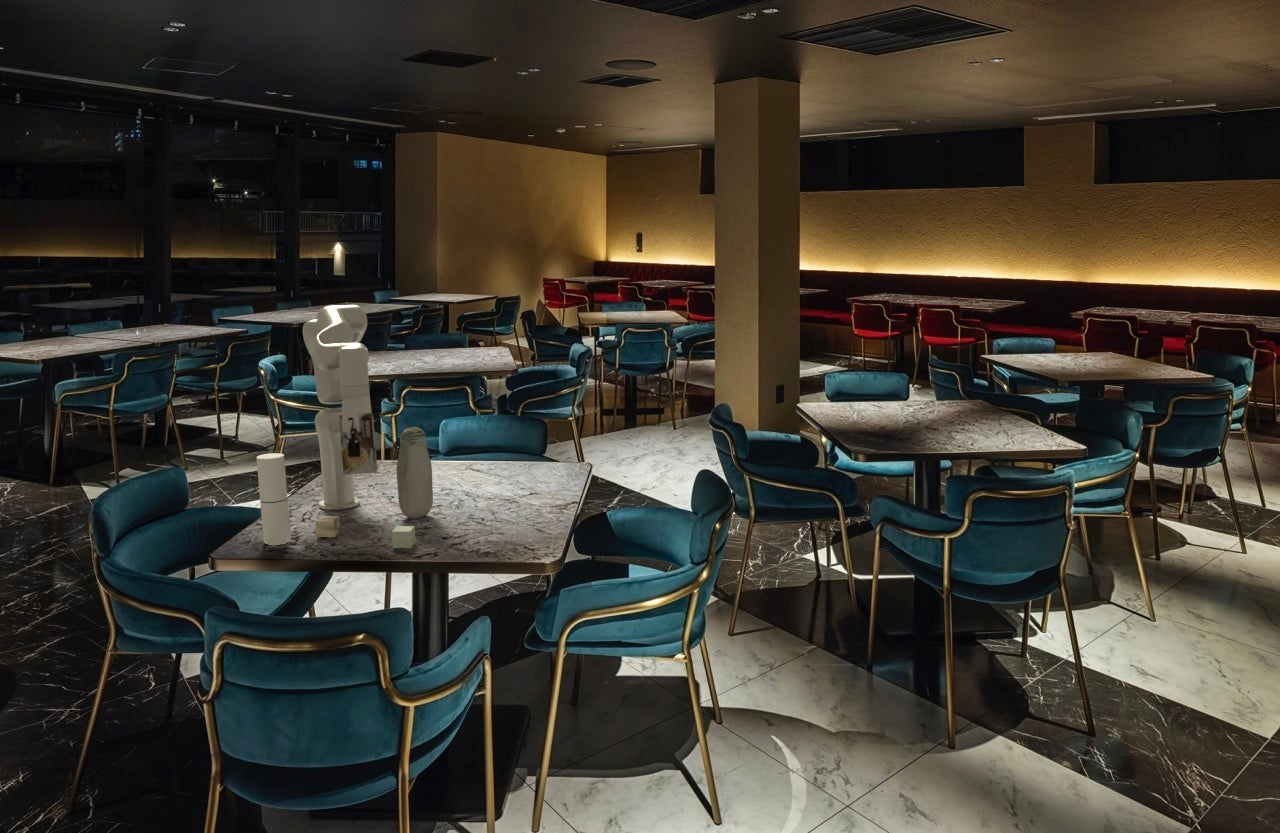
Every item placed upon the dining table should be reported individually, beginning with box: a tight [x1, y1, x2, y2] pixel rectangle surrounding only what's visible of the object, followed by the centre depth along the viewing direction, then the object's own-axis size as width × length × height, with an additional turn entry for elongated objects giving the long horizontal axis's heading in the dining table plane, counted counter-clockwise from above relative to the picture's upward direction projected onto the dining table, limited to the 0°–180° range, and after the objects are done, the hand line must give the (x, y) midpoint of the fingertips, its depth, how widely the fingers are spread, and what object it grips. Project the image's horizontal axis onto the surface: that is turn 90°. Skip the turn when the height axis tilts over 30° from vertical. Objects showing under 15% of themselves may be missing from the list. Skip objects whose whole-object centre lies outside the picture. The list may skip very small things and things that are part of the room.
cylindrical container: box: [256, 452, 292, 545], centre depth 263 cm, size 7×7×25 cm
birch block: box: [315, 515, 341, 538], centre depth 271 cm, size 5×5×5 cm
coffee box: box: [339, 413, 378, 475], centre depth 262 cm, size 9×6×16 cm
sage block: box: [391, 525, 417, 549], centre depth 260 cm, size 5×5×5 cm
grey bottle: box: [396, 426, 434, 520], centre depth 286 cm, size 10×10×28 cm
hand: (359, 452), depth 263 cm, fingers closed on coffee box, 7 cm apart
